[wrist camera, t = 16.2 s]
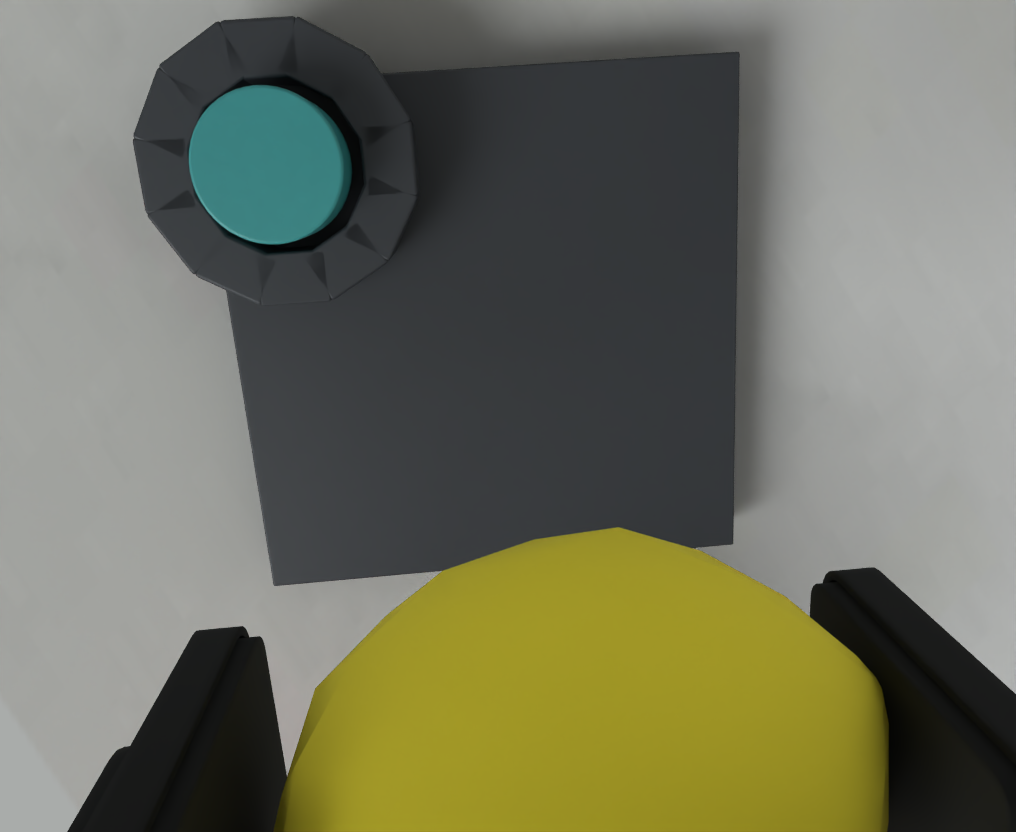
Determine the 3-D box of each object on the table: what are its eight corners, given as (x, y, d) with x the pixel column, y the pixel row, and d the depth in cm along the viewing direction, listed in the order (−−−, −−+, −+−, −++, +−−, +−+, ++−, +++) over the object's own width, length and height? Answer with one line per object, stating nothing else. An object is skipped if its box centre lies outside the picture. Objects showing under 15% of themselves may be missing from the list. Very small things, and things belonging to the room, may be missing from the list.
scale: (247, 567, 24) (219, 619, 21) (158, 47, 20) (110, 26, 17) (718, 525, 25) (753, 570, 22) (722, 15, 21) (765, -12, 18)
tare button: (221, 244, 19) (201, 249, 17) (197, 97, 18) (174, 89, 17) (359, 234, 19) (352, 239, 18) (343, 87, 18) (333, 79, 17)
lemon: (723, 387, 10) (998, 593, 5) (827, 723, 12) (1118, 1139, 7) (215, 581, 11) (-6, 962, 5) (379, 886, 12) (329, 1410, 7)
